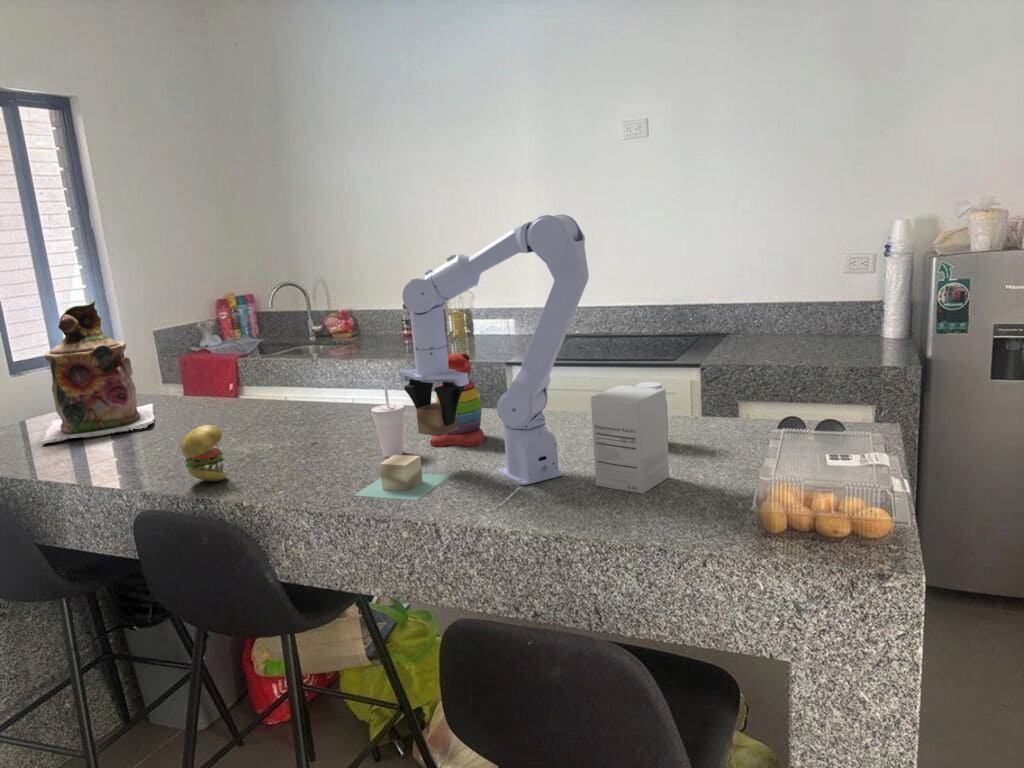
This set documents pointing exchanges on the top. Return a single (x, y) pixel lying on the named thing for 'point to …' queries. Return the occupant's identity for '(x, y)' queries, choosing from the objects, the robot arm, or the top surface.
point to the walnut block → (433, 421)
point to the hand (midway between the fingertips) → (437, 422)
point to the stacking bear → (463, 410)
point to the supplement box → (630, 438)
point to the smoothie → (389, 426)
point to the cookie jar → (92, 381)
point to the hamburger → (204, 453)
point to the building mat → (413, 494)
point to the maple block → (401, 472)
